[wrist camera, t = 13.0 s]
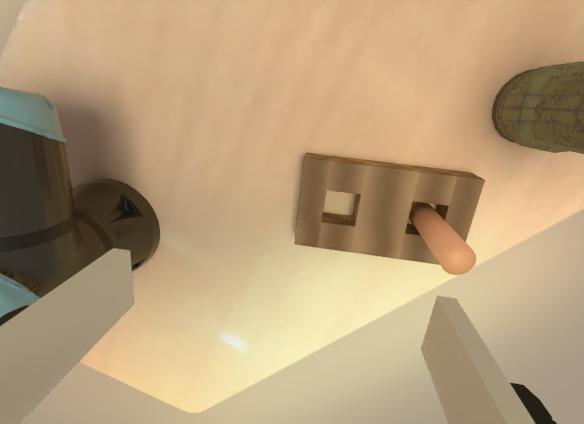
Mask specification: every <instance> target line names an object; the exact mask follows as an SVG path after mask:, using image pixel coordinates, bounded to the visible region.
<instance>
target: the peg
mask: <svg viewBox="0 0 584 424" xmlns="http://www.w3.org/2000/svg"><path fill="white" fill-rule="evenodd" d="M409 218H410V220H411V221H412V223H413V224H414V226H415V227H416V229H417V230H418V232H419V233H420V235H421V236H422V238H423V239H424V241H425V242H426V244H427V245H428V247H429V248H430V250H431V251H432V253H433V254H434V256H435V257H436V259H437V260H438V262H439V263H440V265H441V266H442V268H443V269H444V270H445V271H446V272H447V273H449V274H453V275H460V274H464V273H466V272H468V271H469V270H471V269H472V267H473V266H474V264H475V262H476V255H475V253H474V251H473V250H472V249H471V248H470V247H469V246H468V245H467V244H466V243H465V241H464V240H463V239H462V238H461V237H460V236H459V235H458V234H457V233H456V232H455V231H454V230H453V229H452V228H451V227H450V226H449V225H448V223H447V222H446V221H445V220H444V219H443V218H442V217H441V216H440V215H439V214H438V213H437V212H436V211H435V210H434V209H433V208H432V207H431V205H430V204H429V203H424V202H416V201H413V202H412V206H411V210H410V214H409Z"/></svg>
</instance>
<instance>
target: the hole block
mask: <svg viewBox="0 0 584 424" xmlns="http://www.w3.org/2000/svg"><path fill="white" fill-rule="evenodd" d="M484 181H485V180H484V179H482V178H480V177H478V176H476V175H474V174H472V173H468V172H460V171H452V170H443V169H435V168H427V167H419V166H410V165H402V164H394V163H385V162H377V161H369V160H361V159H352V158H344V157H336V156H328V155H319V154H311V153H306V155H305V158H304V165H303V174H302V182H301V191H300V200H299V208H298V217H297V226H296V234H295V243H294V244H297V245H304V246H311V247H318V248H325V249H332V250H339V251H346V252H354V253H361V254H368V255H375V256H382V257H389V258H396V259H403V260H410V261H418V262H425V263H432V264H439V265H440V263H439V262H438V260H437V259H436V257H435V256H434V254H433V253H432V251H431V250H430V248H429V247H428V245H427V244H426V242H425V241H424V239H423V238H422V236H421V235H420V233H419V232H418V230H417V229H416V227H415V226H414V225H413V224H407V223H408V218H409V214H410V210H411V206H412V202H413V201H416V202H424V203H432V204H437V206H436V209H435V211H436V212H437V213H438V214H439V215H440V216H441V217H442V218H443V219H444V220H445V221H446V222H447V223H448V225H449V226H450V227H451V228H452V229H453V230H454V231H455V232H456V233H457V234H458V235H459V236H460V237H461V238H462V239H463V240H464V241H465V242H466V238H467V235H468V232H469V229H470V226H471V223H472V219H473V216H474V213H475V210H476V207H477V203H478V200H479V197H480V194H481V191H482V188H483V184H484ZM326 190H330V191H338V192H346V193H354V194H357V197H356V203H355V209H354V214H353V216H346V215H338V214H331V213H323V207H324V200H325V194H326Z"/></svg>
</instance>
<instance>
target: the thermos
mask: <svg viewBox="0 0 584 424" xmlns="http://www.w3.org/2000/svg"><path fill="white" fill-rule="evenodd" d="M492 119H493V122H494V126H495V128H496V130H497V131H498V132H499V134H500V135H501V136H502V137H504V138H506V139H507V140H509V141H511V142H516V143H518V144H520V145H522V146H526V147H530V148H534V149H538V150H543V151H548V152H553V153H556V152H566V151H572V152H577V153H582V154H584V62H574V63H567V64H560V65H553V66H546V67H541V68H538V69H536V70H529V71H526V72H524V73H521V74H519V75H517V76H515V77H514V78H512V79H511V80H510V81H509V82H508V83H506V84H505V85H504V87H503V88H502V89H501V91H500V92H499V93H498V95H497V97H496V100H495V102H494V105H493V113H492Z"/></svg>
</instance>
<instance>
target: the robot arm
mask: <svg viewBox="0 0 584 424" xmlns="http://www.w3.org/2000/svg"><path fill="white" fill-rule="evenodd" d="M65 143H67V141H66V139H65V138H64V137H63V133H62V128H61V123H60V119H59V114H58V110H57V108H56V106H55V105H54V104H53V103H52V102H51V101H50V100H49V99H48V98H46V97H45V96H43V95H40V94H37V93H32V92H26V91H20V90H14V89H8V88H2V87H0V424H20V423H21V422H22V421H23V420H24V419H25V418H26V417H27V416H28V415H29V413H30V412H31V411H32V410H33V409H34V408H35V407H36V406H37V405H38V404H39V403H40V402H41V401H42V400H43V398H45V397H46V396H47V394H49V392H50V391H51V390H52V389H53V388H54V387H55V386H56V385H57V384H58V383H59V382H60V381H61V380H62V379H63V377H65V375H67V374H68V373H69V371H70V370H71V369H72V368H73V367H74V366H75V365H76V364H77V363H78V362H79V361H80V360H81V359H82V358H83V357H84V356H85V355H86V354H87V353H88V352H89V350H90V349H91V348H92V347H93V346H94V345H95V344H96V343H97V342H98V341H99V340H100V339H101V338H102V337H103V336H104V335H105V334H106V333H107V332H108V331H109V330H110V328H111V327H112V326H113V325H114V324H115V323H116V322H117V321H118V320H119V319H120V318H121V317H122V316H123V315H124V314H125V313H126V312H127V311H128V310H129V309H130V307H131V306H132V305H133V304H134V295H133V282H132V271H134V270H136V269H137V268H139V267H140V266H142V265H143V264H144V263H145V262H146V261H147V260H149V259H150V258H151V256H152V255H153V254H154V252H155V251H156V249H157V246H158V243H159V225H158V221H157V218H156V215H155V213H154V211H153V209H152V208H151V206H150V205H149V203H148V202H147V201H146V199H145V198H144V197H143V196H142V195H141V194H139V193H138V192H137V191H136V190H134V189H133V188H131V187H130V186H128V185H126V184H124V183H121V182H118V181H115V180H110V179H97V180H92V181H89V182H86V183H84V184H81V185H78V186H77V187H75V188H73V189H72V187H71V181H70V174H69V167H68V160H67V153H66V146H65ZM421 351H422V353H423V356H424V359H425V361H426V364H427V367H428V369H429V372H430V375H431V378H432V381H433V383H434V386H435V389H436V392H437V394H438V397H439V400H440V402H441V405H442V408H443V411H444V413H445V416H446V419H447V422H448V424H556V422H555V421H553V420H552V417H551V415H550V414H549V413H548V411H547V409H546V408H545V407H544V405H543V404H542V402H541V401H540V400H539V399H538V398H537V397H536V396H535V395H534V394H532V393H531V392H530V391H529V390H528V389H527V388H526V387H525V386H524V385H520V384H514V383H509V381H508V380H507V378H506V376H505V375H504V373H503V372H502V370H501V368H500V367H499V365H498V364H497V362H496V361H495V359H494V357H493V356H492V354H491V353H490V351H489V349H488V348H487V346H486V345H485V343H484V342H483V340H482V339H481V337H480V335H479V334H478V332H477V331H476V329H475V327H474V326H473V324H472V323H471V321H470V320H469V318H468V316H467V315H466V313H465V312H464V310H463V308H462V307H461V306H460V304H459V302H458V301H457V299H456V298H449V297H442V296H437V297H436V301H435V304H434V307H433V311H432V314H431V317H430V321H429V324H428V327H427V331H426V334H425V337H424V341H423V344H422V347H421Z"/></svg>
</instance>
